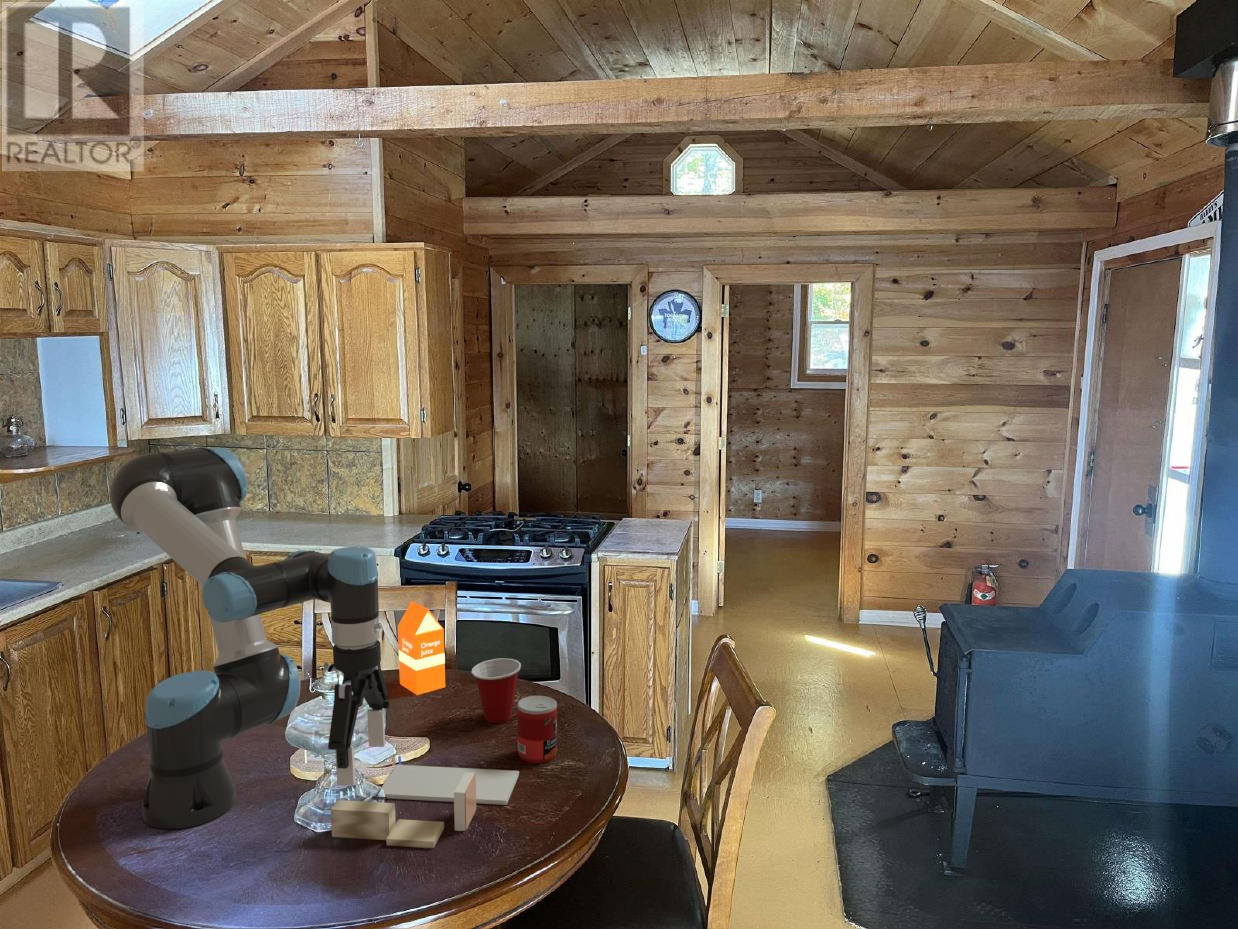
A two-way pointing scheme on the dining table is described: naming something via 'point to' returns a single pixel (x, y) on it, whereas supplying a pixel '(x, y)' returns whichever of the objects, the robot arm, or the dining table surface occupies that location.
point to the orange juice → (421, 651)
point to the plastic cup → (497, 687)
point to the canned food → (537, 729)
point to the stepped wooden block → (382, 824)
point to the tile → (465, 801)
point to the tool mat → (448, 783)
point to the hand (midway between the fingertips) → (362, 764)
